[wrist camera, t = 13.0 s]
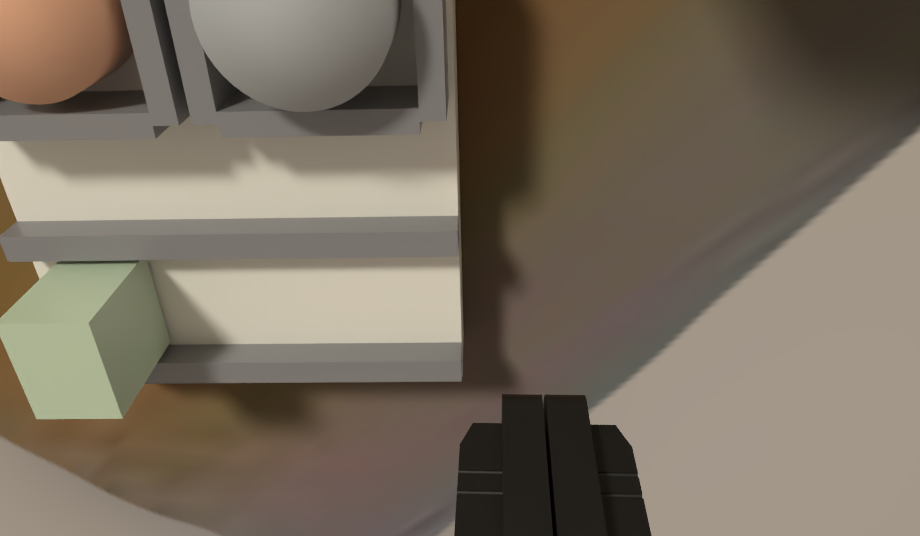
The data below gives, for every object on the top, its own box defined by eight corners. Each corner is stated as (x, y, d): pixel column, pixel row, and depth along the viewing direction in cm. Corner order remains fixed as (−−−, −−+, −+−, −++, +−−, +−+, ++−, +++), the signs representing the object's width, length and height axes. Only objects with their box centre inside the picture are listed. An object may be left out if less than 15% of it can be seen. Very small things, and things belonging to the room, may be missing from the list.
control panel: (-71, -193, 21) (-221, -206, 17) (450, -208, 21) (442, -226, 16) (110, 335, 32) (47, 418, 27) (463, 332, 31) (461, 416, 27)
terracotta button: (-66, -100, 20) (-128, -94, 18) (115, -105, 20) (73, -100, 18) (0, 83, 22) (-48, 106, 20) (160, 80, 22) (128, 103, 20)
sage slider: (64, 254, 26) (-6, 323, 22) (145, 253, 26) (88, 322, 22) (96, 342, 28) (36, 418, 24) (170, 341, 28) (122, 418, 24)
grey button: (200, -105, 19) (166, -100, 17) (395, -110, 19) (384, -106, 16) (236, 88, 21) (211, 113, 19) (407, 85, 21) (399, 110, 19)
